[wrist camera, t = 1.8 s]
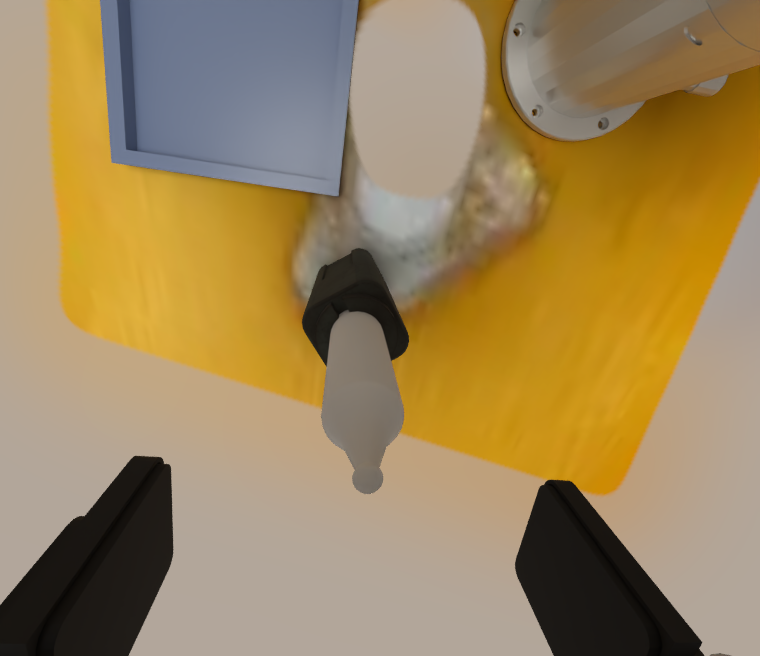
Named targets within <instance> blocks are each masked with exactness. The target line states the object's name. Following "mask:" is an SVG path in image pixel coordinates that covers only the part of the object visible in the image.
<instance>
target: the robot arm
mask: <svg viewBox="0 0 760 656" xmlns="http://www.w3.org/2000/svg"><path fill="white" fill-rule="evenodd" d="M513 31H516V32H517V37H516V36H515V35H514V33H513ZM501 59H502V73H503V78H504V83H505V87H506V91H507V93H508V96H509V98H510V100H511V102H512V105H513V107H514V108H515V110H516V111H517V113H518V114H519V115H520V117H521V118H522V120H523V121H524V122H526V123H527V124H528V125H529V126H530V127H531V128H532V129H533V130H535V131H537V132H538V133H540V134H542V135H544V136H545V137H548V138H552V139H555V140H558V141H570V142H575V141H581V140H588V139H591V138H595V137H599V136H602V135H604V134H606V133H608V132H610V131H612V130H614V129H616V128H618V127H619V126H620V125H622V124H623V123H625V122H626V121H627V120H629V119H630V118H631V117H632V116H633V115H634V114H635V113H636V112H637V111H638V110H639V109H640V108H641V107H642V106H643V104H644V103H645V101H646V100H648V99H651V98H654V97H658V96H661V95H664V94H667V93H671V92H674V91H677V90H683V91H685V92H686V93H691V94H696V95H700V96H705V97H709V96H713V95H714V94H715V93H717V92H718V91H719V90H720V89H721V88H722V87H723V85H724V84H725V82H726V80H727V78H728V74H731V73H735V72H738V71H741V70H744V69H747V68H751V67H754V66H757V65H760V0H515V2H514V4H513V7H512V9H511V12H510V14H509V16H508V19H507V23H506V27H505V31H504V35H503V43H502V55H501ZM532 110H534V112H535V115H534V116H533V115H532ZM598 123H599V127H598ZM172 525H173V523H172V488H171V467H170V465H169V464H164V461H163V459H162V458H161V457H145V456H134V457H133V458H132V459H131V460H130V461H129V462H128V463H127V465H126V466H125V467H124V468H123V470H122V471H121V472H120V473H119V475H118V476H117V477H116V478H115V479H114V481H113V482H112V483H111V484H110V486H109V487H108V488H107V489H106V491H105V492H104V493H103V494H102V496H101V497H100V498H99V499H98V501H97V502H96V503H95V504H94V505H93V507H92V508H91V509H90V510H89V512H88V513H87V514H86V515H85V516H79V517H77V518H75V519H73V520H72V521H71V522H70V524H68V525H67V526H66V527H65V529H64V530H63V531H62V532H61V533H60V535H59V536H58V537H57V538H56V539H55V540H54V542H53V543H52V544H51V545H50V546H49V548H48V549H47V550H46V551H45V552H44V554H43V555H42V556H41V557H40V558H39V560H38V561H37V562H36V563H35V564H34V565H33V567H32V568H31V569H30V570H29V571H28V573H27V574H26V575H25V576H24V577H23V579H22V580H21V581H20V582H19V583H18V585H17V586H16V587H15V588H14V589H13V591H12V592H11V593H10V594H9V595H8V596H7V598H6V599H5V600H4V601H3V602H2V604H1V605H0V656H128V655H129V653H130V651H131V649H132V647H133V644H134V642H135V640H136V638H137V636H138V634H139V632H140V630H141V627H142V626H143V623H144V621H145V619H146V617H147V615H148V612H149V610H150V608H151V606H152V604H153V602H154V600H155V597H156V595H157V593H158V591H159V589H160V587H161V585H162V583H163V580H164V578H165V576H166V574H167V572H168V570H169V567H170V565H171V561H172V557H173V526H172ZM515 569H516V574H517V577H518V579H519V581H520V583H521V586H522V588H523V590H524V592H525V594H526V596H527V598H528V601H529V603H530V605H531V607H532V609H533V612H534V614H535V616H536V618H537V620H538V622H539V625H540V626H541V629H542V631H543V633H544V635H545V638H546V640H547V642H548V644H549V646H550V648H551V651H552V653H553V655H554V656H704V654H703V653H702V652H701V651H700V649H699V648H700V646H701V644H702V642H701V640H700V639H699V638H698V636H697V635H696V634H695V633H694V632H693V630H692V629H691V628H690V627H689V625H688V624H687V623H686V622H685V621H684V619H683V618H682V617H681V615H680V614H679V613H678V612H677V611H676V610H675V608H674V607H673V606H672V604H671V603H670V602H669V601H668V599H667V598H666V597H665V596H664V594H663V593H662V592H661V591H660V590H659V588H658V587H657V586H656V585H655V583H654V582H653V581H652V580H651V578H650V577H649V576H648V575H647V574H646V572H645V571H644V570H643V569H642V567H641V566H640V565H639V564H638V563H637V561H636V560H635V559H634V557H633V556H632V555H631V554H630V553H629V551H628V550H627V549H626V547H625V546H624V545H623V544H622V543H621V541H620V540H619V539H618V538H617V536H616V535H615V534H614V533H613V532H612V530H611V529H610V528H609V527H608V525H607V524H606V523H605V521H604V520H603V519H602V518H601V517H600V515H599V514H598V513H597V512H596V510H595V509H594V508H593V507H592V506H591V504H590V503H589V502H588V500H587V499H586V498H585V497H584V496H583V494H582V493H581V492H580V491H579V489H578V488H577V487H576V486H575V485H574V484H573V483H572V482H570V481H563V480H547V481H546V482H545V484H544V485H542V486H540V488H539V490H538V493H537V497H536V499H535V503H534V505H533V509H532V512H531V515H530V518H529V521H528V524H527V527H526V530H525V533H524V536H523V539H522V542H521V545H520V548H519V552H518V555H517V558H516V562H515ZM710 656H730V655H725V654H721V653H719V654H711V655H710Z"/></svg>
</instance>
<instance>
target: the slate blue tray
mask: <svg viewBox="0 0 760 656" xmlns="http://www.w3.org/2000/svg"><path fill="white" fill-rule="evenodd" d="M100 5H101V19H102V34H103V48H104V62H105V76H106V90H107V104H108V118H109V132H110V146H111V160H112V163H118V164H124V165H131V166H138V167H145V168H151V169H158V170H165V171H171V172H178V173H185V174H191V175H198V176H205V177H211V178H218V179H225V180H231V181H238V182H245V183H251V184H258V185H265V186H272V187H278V188H285V189H292V190H298V191H305V192H312V193H318V194H325V195H332V196H339V189H340V179H341V169H342V160H343V150H344V140H345V131H346V121H347V111H348V102H349V92H350V82H351V73H352V63H353V53H354V44H355V34H356V24H357V15H358V5H359V0H100Z"/></svg>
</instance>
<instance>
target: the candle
mask: <svg viewBox="0 0 760 656" xmlns="http://www.w3.org/2000/svg"><path fill="white" fill-rule="evenodd" d="M302 325H303V329H304V331H305V333H306V335H307V337H308V338H309V340H310V341H311V343H312V344H313V346H314V348H315V349H316V351H317V352H318V354H319V356H320V357H321V359H322V360H323V362H324V363H325V365H326V367H327V369H326V378H325V387H324V396H323V405H322V414H321V418H322V425H323V428H324V430H325V433H326V435H327V437H328V438H329V439H330V440H331V441H332V442H333V444H335V445H336V446H338V447H339V448H341V449H343V450H344V451H345V452H346V454H347V456H348V458H349V460H350V462H351V464H352V465H353V467H354V469H355V471H354V473H353V477H352V479H353V484H354V486H355V488H356V489H357V490H358V491H360V492H362V493H364V494H371V493H373V492H375V491H377V490H378V489H379V488H380V487H381V485H382V482H383V474H382V471H381V470H380V468H379V467H380V464H381V461H382V458H383V455H384V452H385V449H386V447H387V446H388V445H389V444H390V443H391V442H392V441H393V440H394V439H395V438H396V437H397V436H398V434H399V432H400V430H401V428H402V424H403V420H404V408H403V404H402V400H401V396H400V392H399V389H398V385H397V381H396V378H395V374H394V370H393V366H392V363H391V361H392V360H394V359H396V358H398V357H399V356H401V355H402V354H403V353H404V352H405V351H406V349H407V347H408V343H409V335H408V332H407V330H406V328H405V325H404V323H403V321H402V319H401V316H400V314H399V312H398V310H397V307H396V305H395V303H394V301H393V298H392V296H391V294H390V292H389V289H388V287H387V285H386V283H385V281H384V279H383V277H382V275H381V273H380V271H379V269H378V267H377V265H376V264H375V262H374V260H373V258H372V256H371V255H370V253H369V252H368V251H366V250H364V249H354V250H352V251H351V254H349V255H347V256H345V257H344V258H342V259H340V260H338V261H336V262H334V263H332V264H331V265H329V266H327V265H324V266H323V267H322V268H321V269H320V270H319V273H318V275H317V278H316V281H315V284H314V287H313V289H312V292H311V295H310V298H309V301H308V304H307V307H306V309H305V312H304V315H303V319H302Z"/></svg>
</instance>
